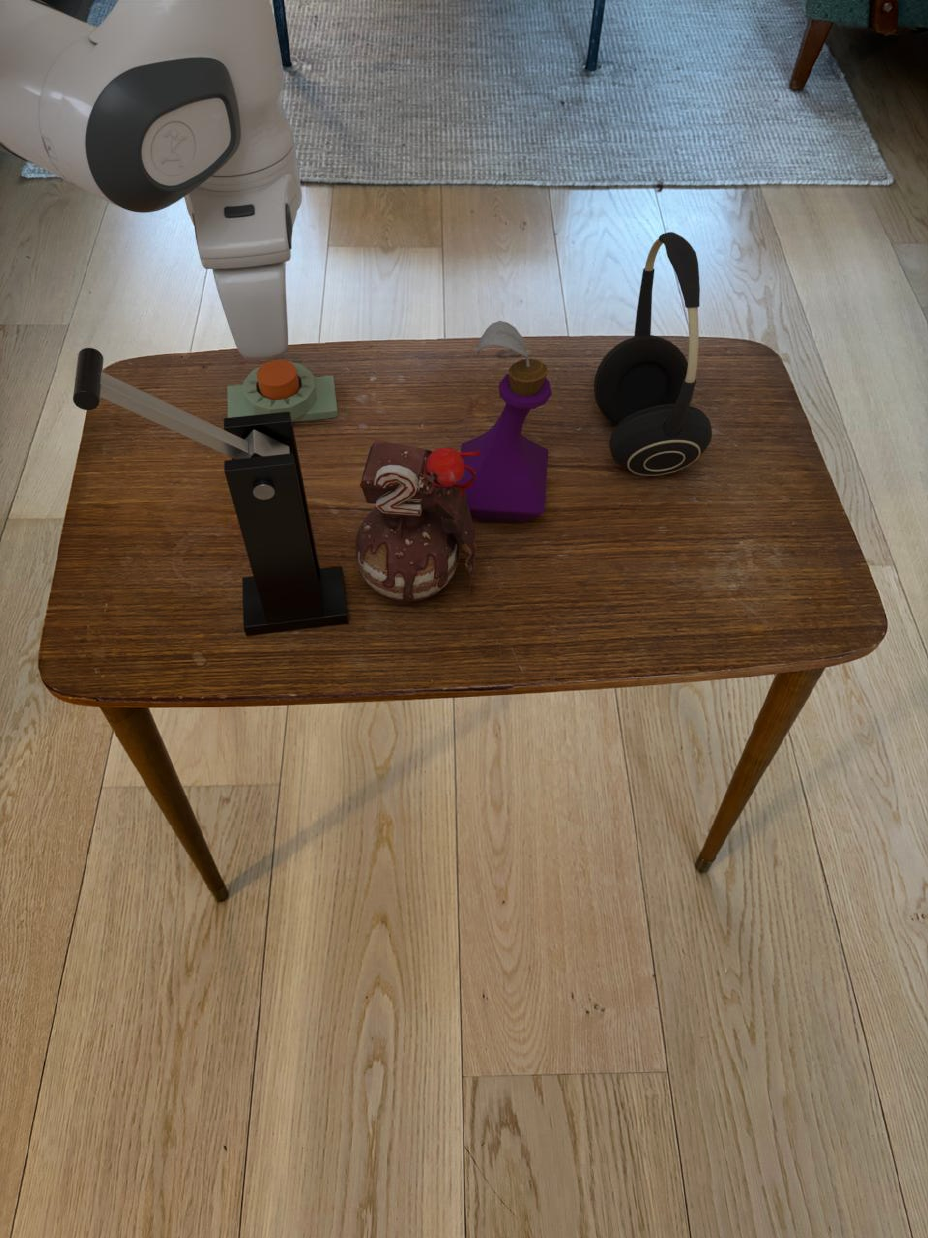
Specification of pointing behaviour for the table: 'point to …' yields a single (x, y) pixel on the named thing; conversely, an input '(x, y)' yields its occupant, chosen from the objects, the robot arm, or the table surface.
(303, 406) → the button box
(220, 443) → the lever
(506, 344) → the perfume bottle
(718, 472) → the table surface
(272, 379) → the button
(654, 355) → the headphones
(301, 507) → the bracket
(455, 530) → the chocolate birthday cake
